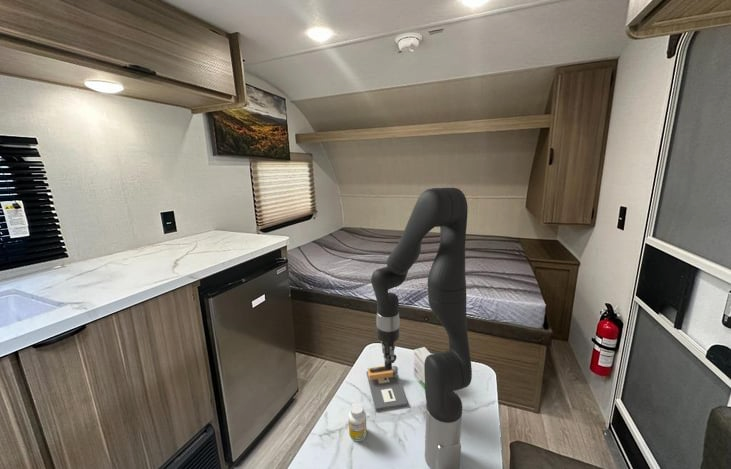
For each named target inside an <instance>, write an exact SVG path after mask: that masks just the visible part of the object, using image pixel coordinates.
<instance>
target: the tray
mask: <svg viewBox="0 0 731 469" xmlns="http://www.w3.org/2000/svg"><path fill="white" fill-rule="evenodd" d="M366 376H367V377H366V378H367V381H368V385H369V389H370V393H371V397H372V398H371V399H372V402H373V407H374V410H375V412H380V411H386V410H391V409H392V410H393V409H399V408H405V407H408V402H407V399H406V396H405V395H404V391H403V389H402V387H401V383H400V381H399V378H398V374H397V375H393V377H388V378H381V379H375V380H369V376H368V370H367V371H366Z"/></svg>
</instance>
